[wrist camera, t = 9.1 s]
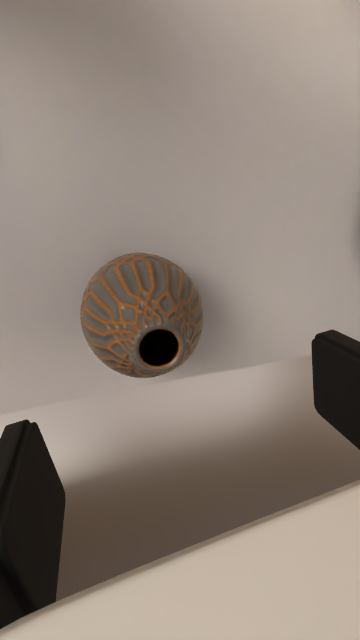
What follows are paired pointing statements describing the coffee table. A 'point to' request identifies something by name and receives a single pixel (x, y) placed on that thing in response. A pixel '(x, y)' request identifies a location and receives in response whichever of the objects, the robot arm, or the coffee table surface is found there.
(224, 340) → the coffee table surface
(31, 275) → the coffee table surface
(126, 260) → the vase
